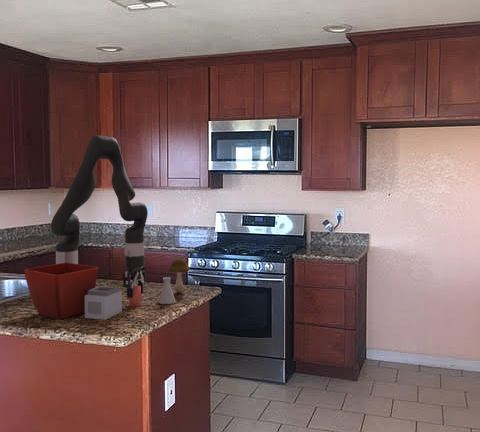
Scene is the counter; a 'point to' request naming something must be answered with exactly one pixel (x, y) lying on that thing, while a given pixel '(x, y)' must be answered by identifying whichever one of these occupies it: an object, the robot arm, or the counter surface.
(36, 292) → the plant pot
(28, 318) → the counter surface
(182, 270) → the mushroom
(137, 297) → the pink cylinder white tip
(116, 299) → the grey box device
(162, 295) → the flask
